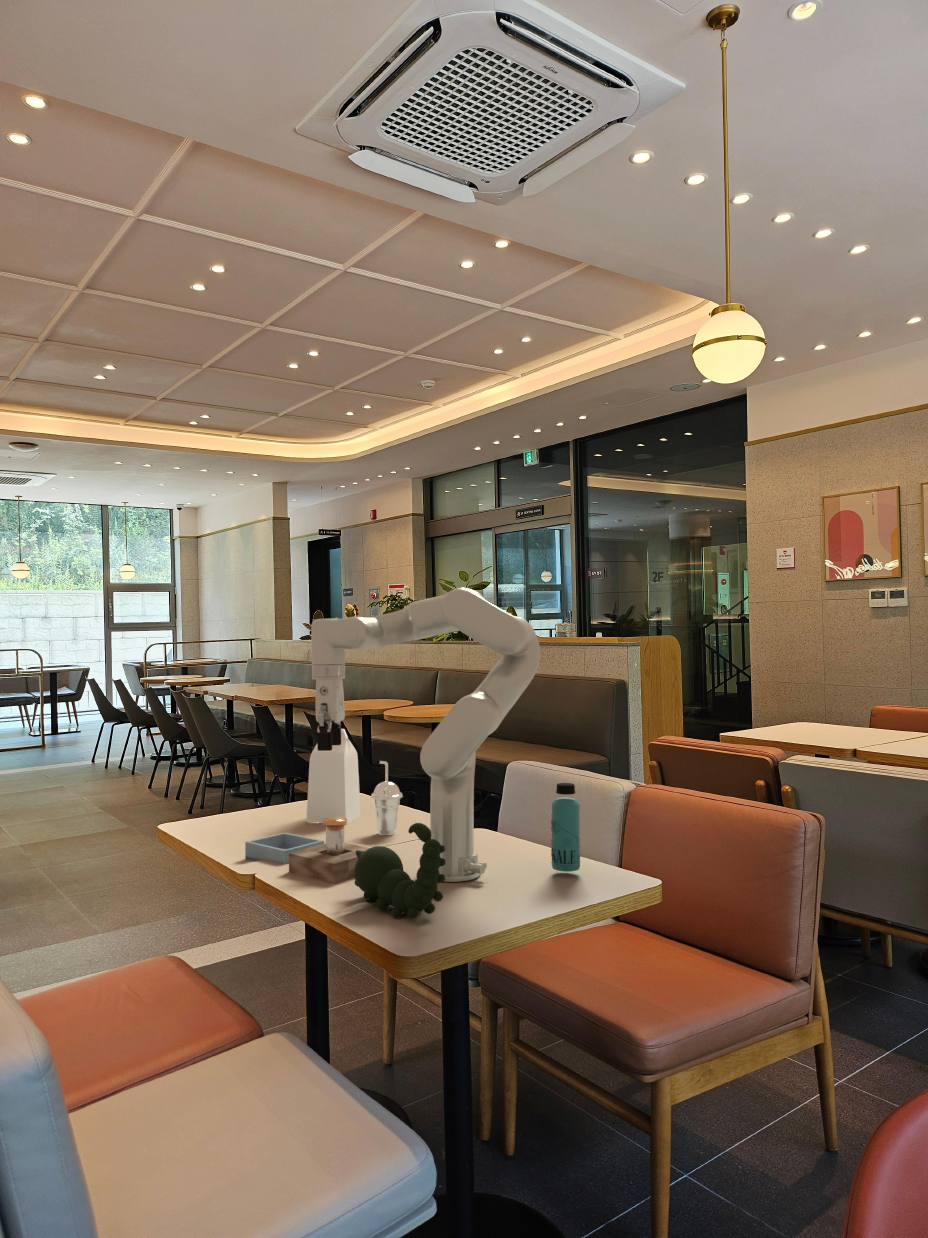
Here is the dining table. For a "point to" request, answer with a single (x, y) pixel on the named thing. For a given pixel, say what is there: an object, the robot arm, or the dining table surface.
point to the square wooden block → (325, 863)
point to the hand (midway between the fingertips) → (329, 747)
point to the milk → (334, 783)
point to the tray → (278, 847)
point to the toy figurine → (401, 877)
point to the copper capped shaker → (335, 835)
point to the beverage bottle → (565, 830)
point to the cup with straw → (386, 804)
